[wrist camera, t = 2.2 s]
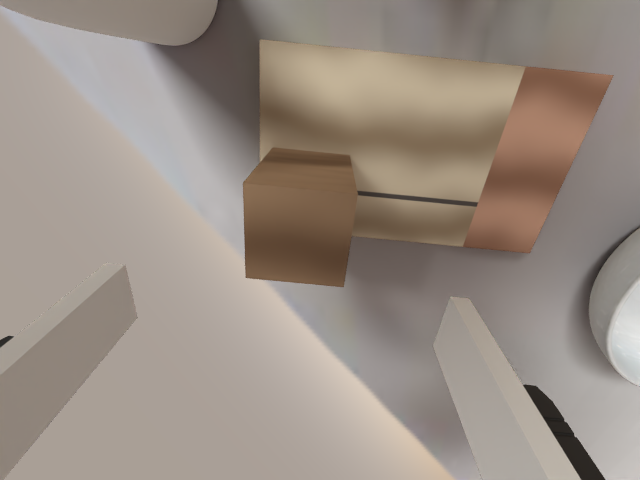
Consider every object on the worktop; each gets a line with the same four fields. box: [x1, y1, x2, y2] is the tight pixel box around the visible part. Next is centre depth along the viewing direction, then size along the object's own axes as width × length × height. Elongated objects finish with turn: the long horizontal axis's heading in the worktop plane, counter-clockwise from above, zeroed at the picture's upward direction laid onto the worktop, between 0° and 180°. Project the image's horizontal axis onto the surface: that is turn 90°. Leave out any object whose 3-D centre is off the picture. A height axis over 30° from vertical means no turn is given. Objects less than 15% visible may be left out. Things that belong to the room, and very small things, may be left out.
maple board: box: [260, 39, 614, 253], centre depth 25 cm, size 14×24×2 cm, turn 85°
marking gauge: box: [243, 147, 358, 287], centre depth 23 cm, size 8×6×11 cm
